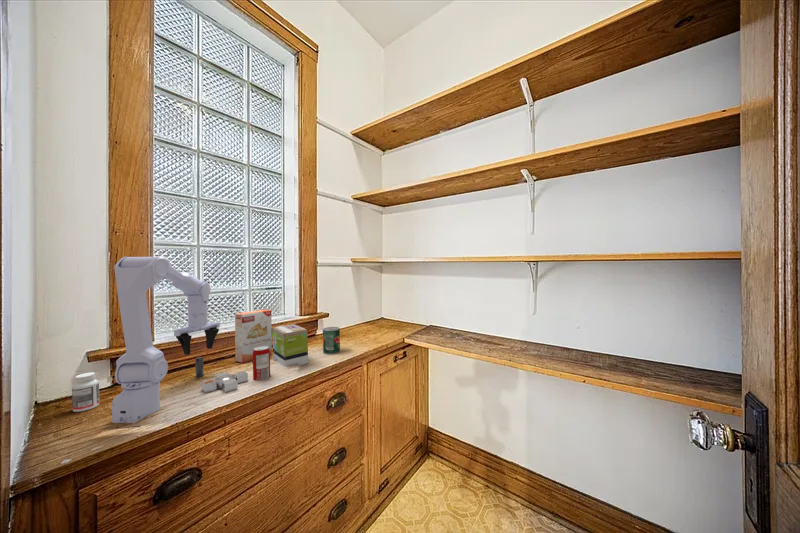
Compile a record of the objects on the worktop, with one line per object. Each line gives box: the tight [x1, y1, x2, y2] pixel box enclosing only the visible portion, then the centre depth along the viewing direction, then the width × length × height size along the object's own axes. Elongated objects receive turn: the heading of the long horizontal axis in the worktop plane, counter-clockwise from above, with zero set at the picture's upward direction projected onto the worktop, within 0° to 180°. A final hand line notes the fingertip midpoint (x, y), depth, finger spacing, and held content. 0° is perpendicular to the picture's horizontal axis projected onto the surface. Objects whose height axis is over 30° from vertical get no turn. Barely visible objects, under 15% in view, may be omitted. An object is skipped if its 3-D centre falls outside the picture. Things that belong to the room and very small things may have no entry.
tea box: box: [271, 323, 309, 367], centre depth 120 cm, size 15×10×15 cm, turn 42°
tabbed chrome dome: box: [201, 370, 249, 394], centre depth 95 cm, size 13×13×3 cm
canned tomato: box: [322, 326, 341, 355], centre depth 134 cm, size 8×8×11 cm
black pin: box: [194, 356, 205, 378], centre depth 103 cm, size 2×2×8 cm
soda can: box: [252, 346, 271, 381], centre depth 101 cm, size 6×6×12 cm
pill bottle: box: [71, 371, 101, 413], centre depth 83 cm, size 5×5×10 cm
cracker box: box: [234, 309, 273, 364], centre depth 127 cm, size 14×6×21 cm, turn 148°
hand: (198, 351), depth 103 cm, fingers open, 7 cm apart
